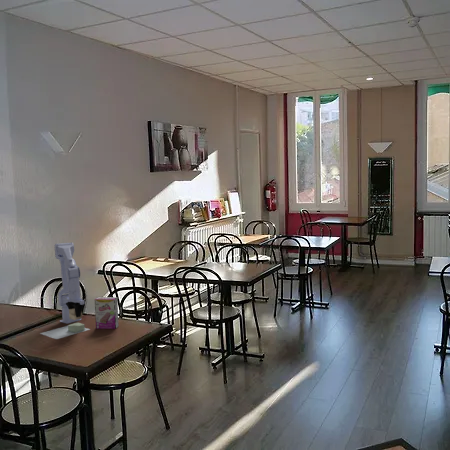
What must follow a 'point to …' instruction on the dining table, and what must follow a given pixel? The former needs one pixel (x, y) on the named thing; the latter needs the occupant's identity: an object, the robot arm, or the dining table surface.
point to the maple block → (73, 314)
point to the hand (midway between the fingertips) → (75, 316)
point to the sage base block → (76, 327)
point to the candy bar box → (106, 312)
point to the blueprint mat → (60, 332)
